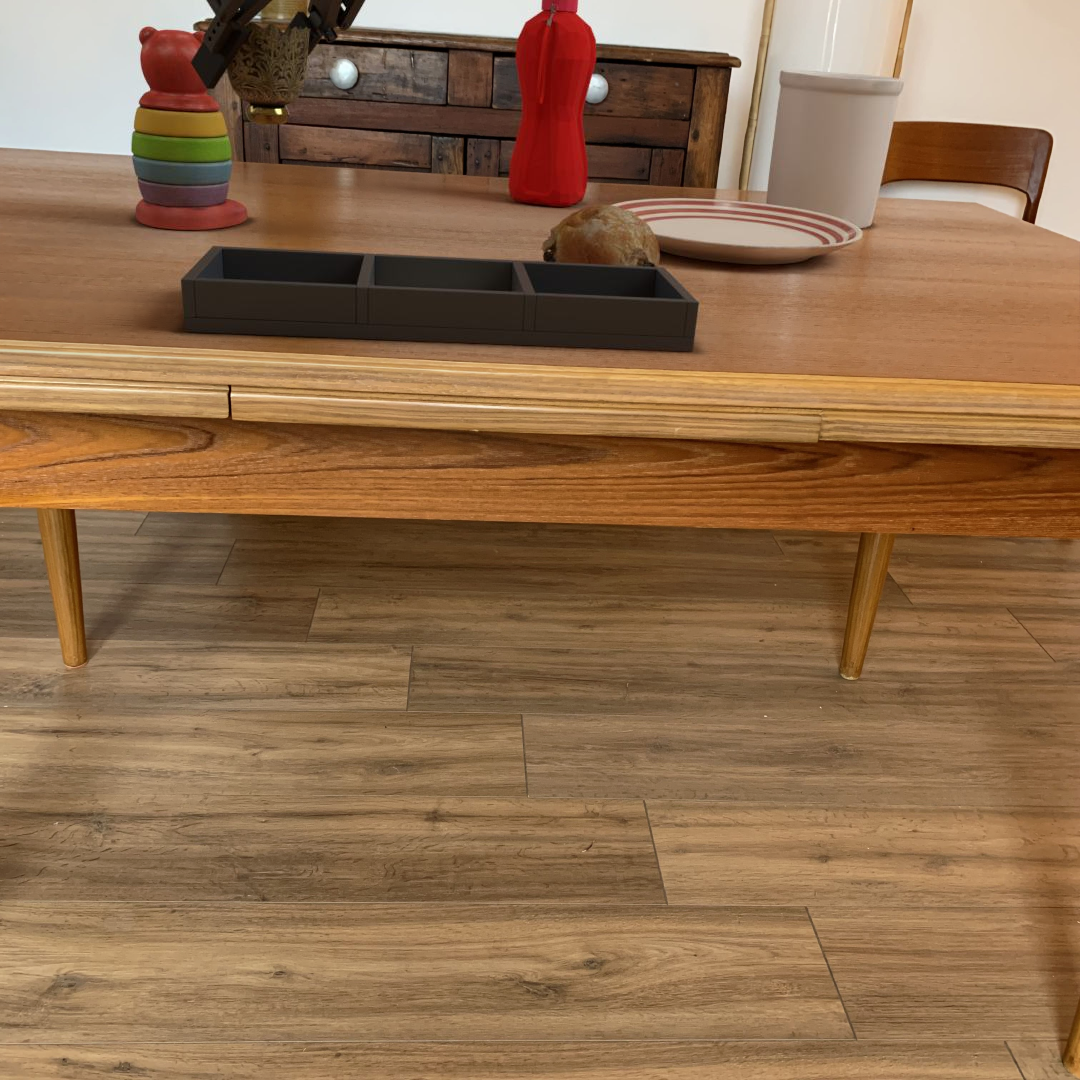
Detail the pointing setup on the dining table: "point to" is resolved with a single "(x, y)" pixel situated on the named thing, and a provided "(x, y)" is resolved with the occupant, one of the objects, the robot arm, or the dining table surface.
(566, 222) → the bread roll
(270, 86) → the cup
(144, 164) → the stacking bear
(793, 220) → the dinner plate
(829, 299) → the dining table surface
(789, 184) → the utensil holder
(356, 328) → the compartment tray
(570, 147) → the water bottle
